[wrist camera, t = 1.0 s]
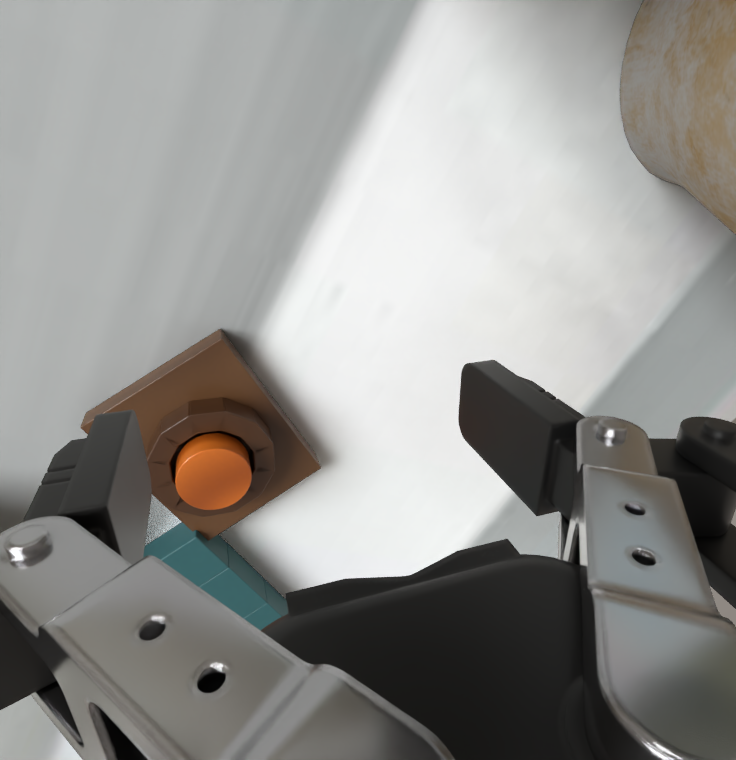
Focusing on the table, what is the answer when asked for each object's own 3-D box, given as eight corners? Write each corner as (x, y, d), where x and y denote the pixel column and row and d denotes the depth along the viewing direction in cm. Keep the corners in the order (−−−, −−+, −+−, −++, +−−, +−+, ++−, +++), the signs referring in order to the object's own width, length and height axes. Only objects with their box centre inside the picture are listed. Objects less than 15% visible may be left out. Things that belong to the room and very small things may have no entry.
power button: (160, 459, 28) (158, 477, 26) (222, 419, 28) (224, 435, 26) (204, 503, 30) (205, 522, 28) (262, 466, 30) (265, 483, 28)
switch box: (85, 412, 29) (73, 444, 26) (220, 328, 29) (223, 349, 26) (204, 526, 34) (205, 563, 31) (316, 454, 35) (328, 484, 32)
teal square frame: (45, 609, 33) (35, 640, 31) (196, 512, 34) (196, 536, 31) (161, 684, 39) (159, 715, 37) (288, 601, 39) (293, 626, 37)
